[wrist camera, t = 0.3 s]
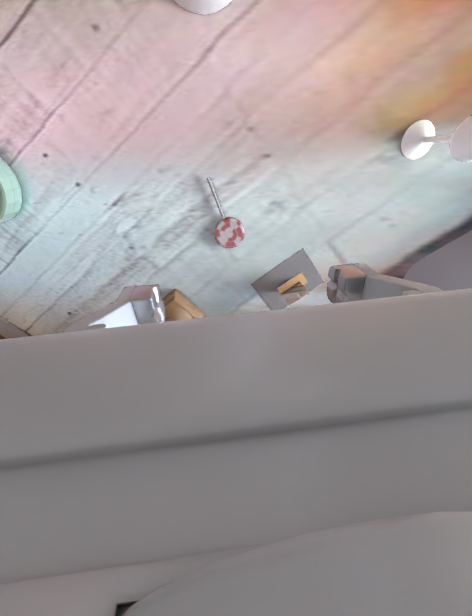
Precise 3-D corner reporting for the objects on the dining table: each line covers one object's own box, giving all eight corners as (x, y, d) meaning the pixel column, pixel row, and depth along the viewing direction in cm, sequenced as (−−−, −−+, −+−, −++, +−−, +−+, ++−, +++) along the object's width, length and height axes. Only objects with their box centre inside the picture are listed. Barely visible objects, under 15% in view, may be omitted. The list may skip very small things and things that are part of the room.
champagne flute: (419, 164, 55) (544, 173, 35) (394, 151, 54) (508, 153, 33) (442, 128, 52) (592, 114, 32) (415, 113, 51) (556, 89, 30)
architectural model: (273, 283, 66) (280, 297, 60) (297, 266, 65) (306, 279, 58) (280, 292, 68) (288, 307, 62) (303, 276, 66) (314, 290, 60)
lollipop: (223, 171, 52) (248, 242, 59) (223, 170, 53) (248, 240, 60) (192, 184, 52) (221, 252, 60) (192, 184, 53) (221, 251, 61)
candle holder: (145, 314, 68) (117, 385, 47) (175, 287, 65) (160, 352, 44) (176, 338, 73) (164, 413, 52) (206, 315, 70) (205, 385, 49)
